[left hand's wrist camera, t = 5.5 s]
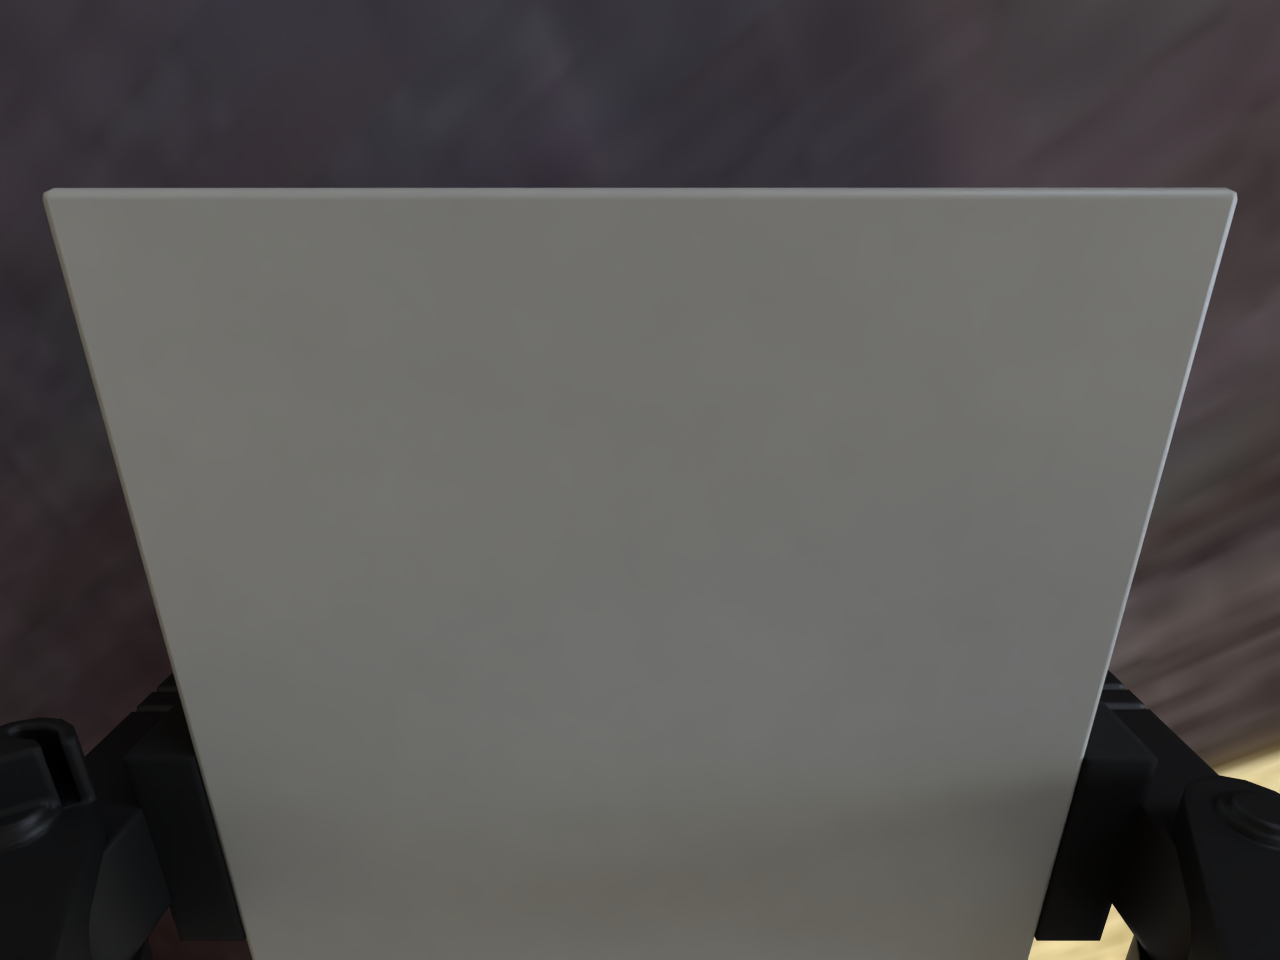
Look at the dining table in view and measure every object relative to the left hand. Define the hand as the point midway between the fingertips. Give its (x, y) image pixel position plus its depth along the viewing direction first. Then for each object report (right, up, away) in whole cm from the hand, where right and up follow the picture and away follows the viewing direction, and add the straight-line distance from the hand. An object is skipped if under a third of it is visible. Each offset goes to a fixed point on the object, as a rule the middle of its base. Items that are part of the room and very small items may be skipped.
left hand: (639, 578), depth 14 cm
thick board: (0, -23, +9) cm, 25 cm away
